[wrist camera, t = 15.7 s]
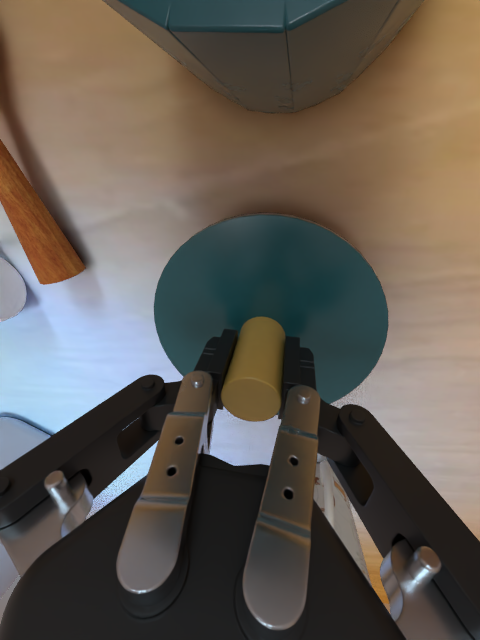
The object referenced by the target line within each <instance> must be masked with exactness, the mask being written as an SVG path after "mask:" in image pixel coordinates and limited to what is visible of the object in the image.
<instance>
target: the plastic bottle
mask: <svg viewBox="0 0 480 640" xmlns="http://www.w3.org/2000/svg"><path fill="white" fill-rule="evenodd" d="M50 437H51V436H50V435H48V434H46V433H44V432H42V431H41V430H39V429H37V428H35V427H33V426H31V425H29V424H27V423H25V422H23V421H21V420H18V419H15V418H11V417H0V470H1V469H3V468H4V467H6V466H7V465H9V464H10V463H12V462H13V461H15V460H16V459H18V458H19V457H21V456H22V455H24V454H25V453H27V452H28V451H30V450H31V449H33V448H34V447H36V446H37V445H39V444H41V443H42V442H44V441H45V440H47V439H48V438H50ZM18 575H19V573H18V571H17V569H16V567H15V566H14V564H13V562H12V560H11V558H10V556H9V555H8V553H7V551H6V549H5V547H4V545H2V544H0V599H1V598H2V597H3V595H4V594H5V592H6V591H7V590H8V588H9V587H10V586H11V584H12V583H13V582H14V580H15V579H16V578H17V576H18Z"/></svg>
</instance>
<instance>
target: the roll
mask: <svg viewBox="0 0 480 640" xmlns="http://www.w3.org/2000/svg"><path fill="white" fill-rule="evenodd" d="M26 296H27V292H26V286H25V283H24V280H23V279H22V277H21V275H20V274H19V273H18V272H17V270H16V269H15V268H14V267H13V266H12V265H10V264H9V263H8V262H7V261H6V260H4V259H3V258H1V257H0V322H2V321H5V320H7V319H9V318H12V317H14V316H16V315H17V314H18V313H20V311H21V310H22V309H23V307H24V305H25V302H26Z"/></svg>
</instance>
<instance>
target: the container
mask: <svg viewBox="0 0 480 640" xmlns="http://www.w3.org/2000/svg"><path fill="white" fill-rule="evenodd" d="M103 1H104V2H105V3H106V4H107V5H109V6H110V7H111V8H112V9H114V10H115V11H116V12H117V13H119V14H120V15H121V16H122V17H124V18H125V19H126V20H127V21H128V22H130V23H131V24H132V25H133V26H135V27H136V28H137V29H138V30H140V31H141V32H142V33H143V34H145V35H146V36H147V37H148V38H150V39H151V40H152V41H153V42H154V43H156V44H157V45H158V46H159V47H161V48H162V49H163V50H164V51H166V52H167V53H168V54H169V55H171V56H172V57H173V58H174V59H175V60H177V61H178V62H179V63H180V64H182V65H183V66H184V67H185V68H187V69H188V70H189V71H190V72H192V73H193V74H194V75H195V76H196V77H198V78H199V79H200V80H201V81H203V82H204V83H205V84H206V85H208V86H209V87H210V88H211V89H213V90H215V91H217V92H218V93H220V94H222V95H223V96H225V97H227V98H228V99H230V100H231V101H233V102H235V103H237V104H238V105H240V106H242V107H244V108H245V109H247V110H250V111H258V112H266V113H293V112H297V111H300V110H303V109H306V108H308V107H311V106H314V105H317V104H319V103H321V102H322V101H324V100H326V99H328V98H330V97H332V96H334V95H336V94H339V93H340V92H341V91H343V90H344V89H345V88H346V87H347V86H348V85H349V84H350V83H351V82H352V81H353V80H354V79H356V78H357V77H358V76H359V75H360V74H361V73H362V72H363V71H364V70H365V69H366V68H367V67H368V66H369V65H370V64H371V63H372V62H373V61H374V60H375V59H376V58H377V57H378V56H379V55H380V54H381V53H382V52H383V51H384V50H385V49H386V48H387V47H388V46H389V44H390V43H391V42H392V40H393V39H394V38H395V37H396V35H397V34H398V33H399V32H400V30H401V29H402V28H403V27H404V25H405V24H406V23H407V22H408V20H409V19H410V18H411V17H412V15H413V14H414V13H415V12H416V10H417V9H418V8H419V7H420V5H421V4H422V3H423V2H424V0H103Z"/></svg>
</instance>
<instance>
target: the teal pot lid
mask: <svg viewBox="0 0 480 640" xmlns="http://www.w3.org/2000/svg"><path fill="white" fill-rule="evenodd" d="M154 319H155V324H156V330H157V333H158V336H159V339H160V342H161V344H162V347H163V349H164V351H165V353H166V355H167V356H168V358H169V359H170V361H171V362H172V364H173V365H174V366H175V368H176V369H177V370H178V371H179V372H180V374H181V375H182V376H183V377H184V376H185V375H186V374H188V373H189V372H192V371H194V368H195V366H196V364H197V362H198V360H199V358H200V356H201V354H202V352H203V350H204V347H205V345H206V343H207V341H209V340H210V339H211V338H212V337H221V335H222V332H223V330H224V329H232V330H238V340H237V343H236V346H235V350H234V353H233V356H232V359H231V362H230V365H229V368H228V372H227V375H226V378H225V381H224V384H223V387H222V390H221V400H222V403H223V405H224V407H225V408H226V409H227V410H228V411H229V412H230V413H231V414H233V415H234V416H236V417H238V418H240V419H243V420H247V421H255V422H257V421H264V420H268V419H270V418H272V417H274V416H275V415H279V410H280V408H281V403H282V380H283V363H284V347H285V339H286V336H291V337H299V338H300V347H304V348H309V349H310V350H311V352H312V353H313V355H314V366H315V368H314V369H315V378H316V389H317V392H318V394H319V395H320V398H321V399H322V400H323V401H325V402H326V403H328V404H331V403H333V402H335V401H337V400H339V399H340V398H342V397H344V396H345V395H347V394H348V393H350V392H351V391H352V390H354V389H355V388H356V387H357V386H359V385H360V384H361V383H362V381H363V380H364V379H365V378H366V377H367V376H368V375H369V374H370V372H371V371H372V369H373V368H374V367H375V365H376V363H377V362H378V360H379V358H380V356H381V354H382V351H383V348H384V345H385V342H386V338H387V331H388V308H387V303H386V298H385V295H384V292H383V289H382V286H381V284H380V281H379V280H378V278H377V276H376V274H375V273H374V271H373V269H372V267H371V266H370V265H369V263H368V262H367V261H366V260H365V258H364V257H363V256H362V255H361V253H360V252H359V251H358V250H357V249H356V248H355V247H354V246H352V245H351V244H350V243H349V242H348V241H347V240H346V239H344V238H343V237H341V236H340V235H338V234H337V233H335V232H334V231H332V230H331V229H329V228H327V227H325V226H322V225H320V224H318V223H316V222H314V221H311V220H307V219H304V218H301V217H298V216H293V215H287V214H281V213H252V214H243V215H239V216H235V217H231V218H227V219H224V220H222V221H219V222H217V223H215V224H212V225H210V226H208V227H206V228H205V229H203V230H202V231H200V232H198V233H197V234H195V235H194V236H193V237H191V238H190V239H189V240H188V241H187V242H185V243H184V244H183V245H182V246H181V247H180V248H179V249H178V250H177V251H176V252H175V254H174V255H173V256H172V257H171V258H170V260H169V262H168V263H167V265H166V266H165V268H164V270H163V272H162V274H161V277H160V279H159V281H158V285H157V289H156V293H155V301H154Z"/></svg>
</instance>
